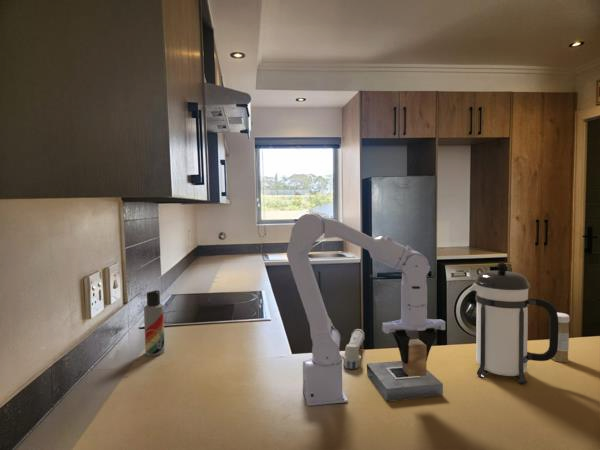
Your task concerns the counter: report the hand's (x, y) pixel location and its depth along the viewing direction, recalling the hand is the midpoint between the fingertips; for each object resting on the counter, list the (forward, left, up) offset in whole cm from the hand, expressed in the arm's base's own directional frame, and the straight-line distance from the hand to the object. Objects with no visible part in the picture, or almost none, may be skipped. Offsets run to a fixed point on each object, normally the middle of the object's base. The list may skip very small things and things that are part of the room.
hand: (413, 361), depth 84 cm
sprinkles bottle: (+52, +14, -10) cm, 54 cm away
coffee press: (+31, +9, -10) cm, 33 cm away
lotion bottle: (-67, +42, -10) cm, 80 cm away
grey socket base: (+1, +8, -9) cm, 12 cm away
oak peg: (0, 0, -2) cm, 3 cm away
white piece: (-5, +30, -10) cm, 32 cm away
